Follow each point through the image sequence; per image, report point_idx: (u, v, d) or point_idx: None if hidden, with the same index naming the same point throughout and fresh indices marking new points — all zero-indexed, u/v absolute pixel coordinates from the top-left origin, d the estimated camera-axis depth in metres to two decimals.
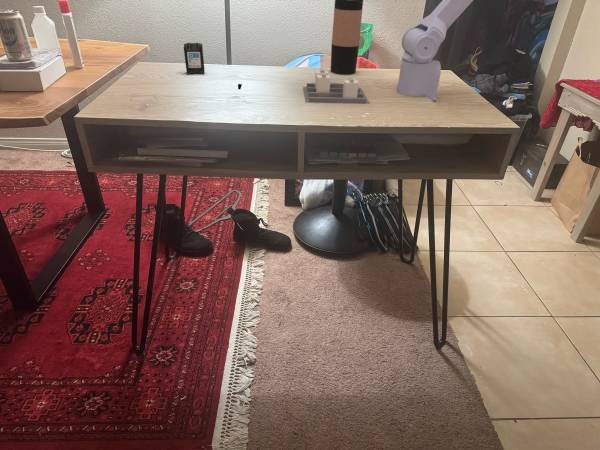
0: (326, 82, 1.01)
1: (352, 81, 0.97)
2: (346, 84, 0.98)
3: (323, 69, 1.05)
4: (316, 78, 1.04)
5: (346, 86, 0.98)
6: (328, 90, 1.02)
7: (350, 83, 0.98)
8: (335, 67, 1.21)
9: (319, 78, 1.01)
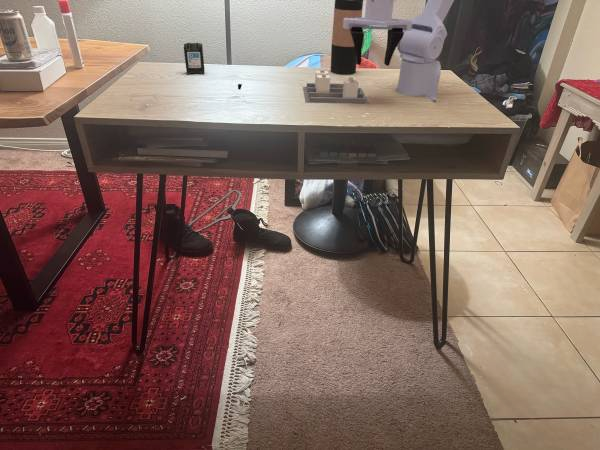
0: (326, 82, 1.01)
1: (352, 81, 0.97)
2: (346, 84, 0.98)
3: (323, 69, 1.05)
4: (316, 78, 1.04)
5: (346, 86, 0.98)
6: (328, 90, 1.02)
7: (350, 83, 0.98)
8: (335, 67, 1.21)
9: (319, 78, 1.01)
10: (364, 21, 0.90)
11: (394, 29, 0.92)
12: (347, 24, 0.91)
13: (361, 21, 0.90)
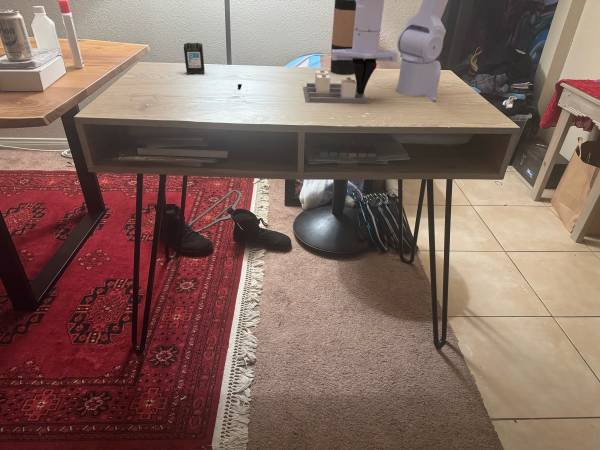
0: (326, 82, 1.01)
1: (350, 81, 0.97)
2: (344, 84, 0.98)
3: (323, 69, 1.05)
4: (316, 78, 1.04)
5: (344, 86, 0.98)
6: (328, 90, 1.02)
7: (348, 83, 0.98)
8: (335, 67, 1.21)
9: (319, 78, 1.01)
10: (351, 53, 0.93)
11: (380, 60, 0.96)
12: (335, 56, 0.94)
13: (348, 53, 0.93)
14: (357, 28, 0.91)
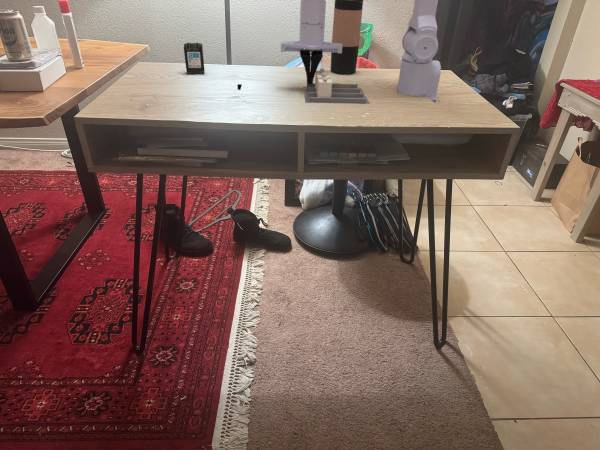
0: None
1: (325, 80, 0.97)
2: (320, 83, 0.97)
3: (323, 69, 1.05)
4: (316, 78, 1.04)
5: (320, 85, 0.97)
6: None
7: (324, 82, 0.97)
8: (335, 67, 1.21)
9: (319, 78, 1.01)
10: (298, 45, 0.99)
11: None
12: (283, 47, 1.01)
13: (295, 45, 1.00)
14: (300, 20, 0.98)
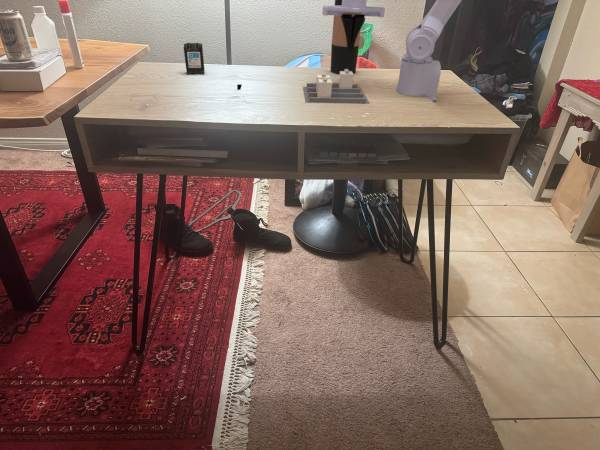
0: None
1: (325, 80, 0.97)
2: (320, 83, 0.97)
3: (348, 70, 1.05)
4: (341, 79, 1.05)
5: (320, 85, 0.97)
6: None
7: (324, 82, 0.97)
8: (335, 67, 1.21)
9: (319, 78, 1.01)
10: (341, 8, 0.99)
11: None
12: (326, 11, 1.00)
13: (338, 8, 0.99)
14: None
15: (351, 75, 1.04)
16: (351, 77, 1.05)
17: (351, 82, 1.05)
